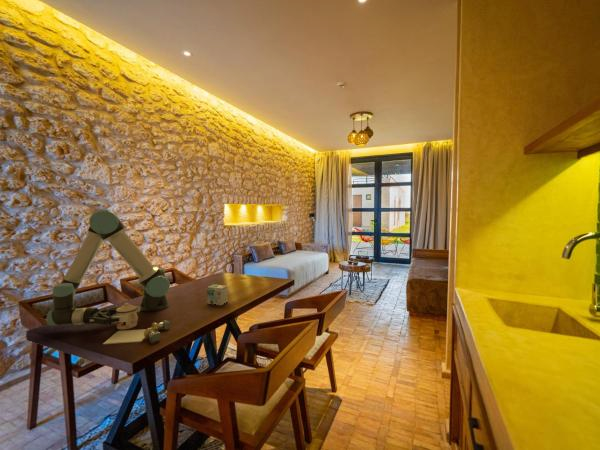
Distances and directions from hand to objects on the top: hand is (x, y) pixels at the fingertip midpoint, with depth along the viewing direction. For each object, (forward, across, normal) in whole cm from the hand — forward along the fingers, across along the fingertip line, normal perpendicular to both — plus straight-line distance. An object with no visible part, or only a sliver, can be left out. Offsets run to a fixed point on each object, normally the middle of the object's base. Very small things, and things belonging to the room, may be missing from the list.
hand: (134, 313), depth 138 cm
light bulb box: (+35, -32, -7) cm, 48 cm away
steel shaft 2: (+14, +6, -6) cm, 17 cm away
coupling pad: (+3, +12, -6) cm, 14 cm away
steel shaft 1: (+14, +17, -6) cm, 23 cm away
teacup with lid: (-2, 0, -7) cm, 7 cm away
